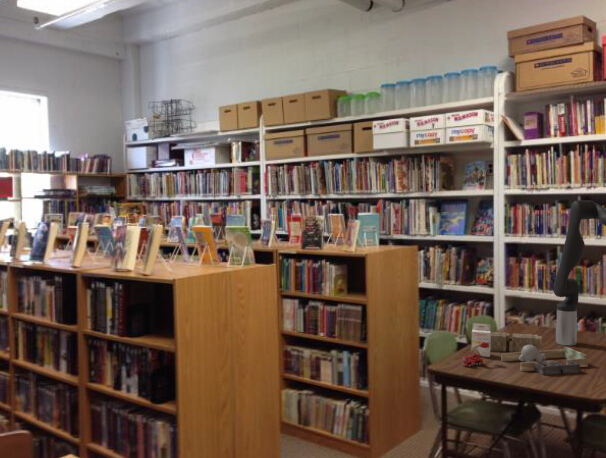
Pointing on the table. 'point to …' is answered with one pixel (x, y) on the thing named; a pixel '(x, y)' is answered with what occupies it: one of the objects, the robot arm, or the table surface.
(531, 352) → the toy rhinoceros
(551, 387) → the table surface
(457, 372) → the table surface
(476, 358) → the toy fire truck
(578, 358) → the trap channel
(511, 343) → the block tower
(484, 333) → the ink cartridge box
